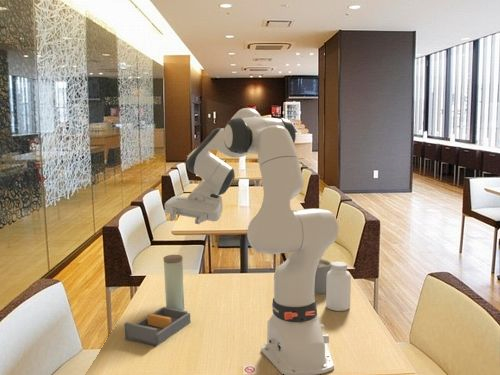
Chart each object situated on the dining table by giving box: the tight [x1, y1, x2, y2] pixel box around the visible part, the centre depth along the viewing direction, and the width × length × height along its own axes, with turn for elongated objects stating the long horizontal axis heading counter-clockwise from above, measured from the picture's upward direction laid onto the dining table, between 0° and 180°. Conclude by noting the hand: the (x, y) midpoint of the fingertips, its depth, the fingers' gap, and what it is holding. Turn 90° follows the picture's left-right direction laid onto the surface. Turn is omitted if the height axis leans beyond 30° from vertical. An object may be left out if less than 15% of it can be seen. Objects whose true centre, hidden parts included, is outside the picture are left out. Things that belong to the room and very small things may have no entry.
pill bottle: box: [325, 261, 352, 312], centre depth 171 cm, size 8×8×15 cm
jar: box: [163, 254, 185, 311], centre depth 172 cm, size 6×6×18 cm
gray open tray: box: [123, 306, 191, 347], centre depth 156 cm, size 18×11×5 cm, turn 154°
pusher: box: [146, 313, 171, 328], centre depth 157 cm, size 1×8×3 cm, turn 64°
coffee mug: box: [314, 258, 332, 295], centre depth 188 cm, size 13×10×10 cm
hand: (184, 219), depth 176 cm, fingers open, 8 cm apart
